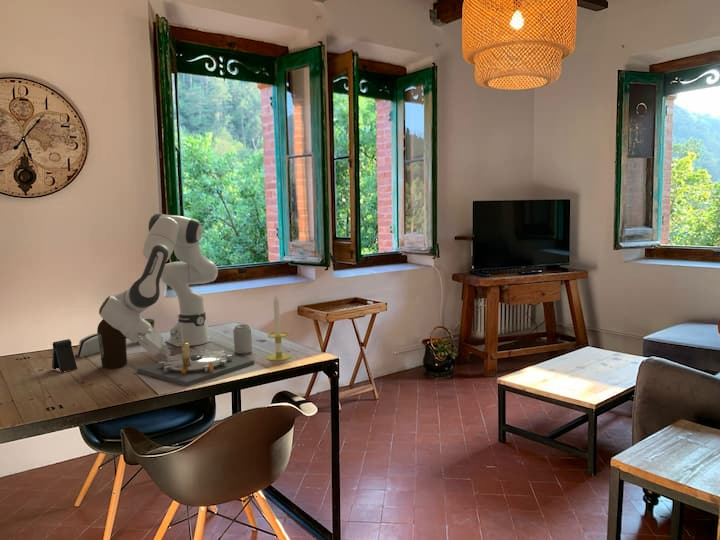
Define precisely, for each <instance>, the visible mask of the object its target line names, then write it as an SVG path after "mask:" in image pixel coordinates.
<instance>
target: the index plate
mask: <svg viewBox="0 0 720 540" xmlns="http://www.w3.org/2000/svg"><path fill="white" fill-rule="evenodd" d="M204 350H205V349H203V350H201V351H204ZM163 361H164V360H162V361H161V362H163ZM252 365H255V360H254V359H250V358H249V359H248V358H245V357H241V356H236V355H232V360H231V361H227V366H225V367H223V366H220V367H217V368H214V369H213V362H209V371H208V372H205V371H200V372H190V373H187V374H182V373H178V372H168V373H165V372H164V368H159V362H155V363H151V364H148V365H144V366H141V367H137V368H136V371H137V373H139V374H142V375H146V376H150V377H154V378H156V379H160V380H164V381H166V382H167V381H169V382H170V383H171V382H172V383H175V384H178V385H181V386H186V387H188V386H191V385H194V384H196V383H200V382H203V381H206V380H209V379H213V378H215V377H216V378H217V377H219V376H221V375H225V374H228V373H231V372H233V371H237V370H239V369H240V370H241V369H243V368H246V367H250V366H252Z"/></svg>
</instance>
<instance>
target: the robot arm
mask: <svg viewBox="0 0 720 540" xmlns="http://www.w3.org/2000/svg"><path fill="white" fill-rule="evenodd" d="M202 236H203V224H202V223H201V222H200V221H199V220H198V219H196V218H195V219H194V218H189V217H186V216H182V215H173V214H164V213H156V214H154V215H153V216H151V217H150V219H149V222H148V234H147V236H146V238H145V240H144V243H143V248H142V255H143V256H144V257H145V259H146V260H147V261H146V264H145V267H144V268H143V272H142V275H141V276H140V277H139V278H138V279H137V280H136V281H135V282H133V284H132V285H131V286H130V287H129V288H128V289H127V290H125V291H123V292H121V293H118V294H113V295H109V296H107V297H106V298H105V300H104V301H103V303H102V304H101V306H100V307H99V310H98V311H99V312H98V314H99V315H100V317H101V318H102V320H103V319H104V320H105V321H106V322H107V323H108V324H110V325H111V326H112V327H113V328H115V329H117V330H119V331H120V332H121V333H122V334H123V335H124V336H125V337H126V339H128V340H129V341H131V342H132V343H133V344H137V343H139V346H141V347H142V348H143V349H144V350H146V351H147V352H148V353H149V354H150V355H153V357H154V356H155V357H156V356H157V355H158V354H159V353H161V354H163V355H164V356H165V357H168V356H171V350H170V349H169V348H168V347H167V346H166V345H165V344H164V343H163V342H165V343H168V344H170V345H173V346H175V347H181V343H184V342H189V347H191V346H200V345H203V344H207V343H209V342H210V341H211V340H212V336H211V335H210V332H209V326H208V322H207V321H206V320H207V313H206V311H205V302H204V301H205V300H204V299H205V298H204V296H203V295H202V294H201V293H200V292H198V291H195V290H192V289H191V288H190V286H189V285H199V284H201V285H202V284H207V283H211V282H214V281H215V280H216V279H217V278H218V274H219V269H218V266H217V264H216V263H215V262H214V261H213V260H210V259H208V258H207V257H205V255H204V254H203V253H202V251H201V248H200V247H201V246H200V240H201V238H202ZM173 252H174V256H175V257H176V258H177V259H178V260H179V261H172V262H168V260H169V259H170V258H171V256H172V255H173ZM167 262H168V263H167ZM160 280H161V281H162V282H163V283H164V284H165V285H167V286H168V287H170V288H171V289H172V290H173V291H174V293H175V294H176V296H177V300H178V305H179V314H177V318H178V319H177V322H176V323H175V325H173V326H172V328H170V331H169V332H170V333H169V334H170V335H169V338H167V339H165V341H164V337H163V336H162V333H160V332H159V331H158V330H156V328H155V327H154V328H153V327H152V326H151V324H150V323H149V322H148V321H146V320H145V319H146V318H143V317H142V316H141V315H140V314H141V313H143V312H144V311H146V310H147V309H148V308H149V307H151V306H153V305H154V304H156V303H157V301H158V300H159V298H160V296H161V295H160V293H161V292H160V291H161V290H160Z"/></svg>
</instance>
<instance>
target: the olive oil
mask: <svg viewBox="0 0 720 540" xmlns="http://www.w3.org/2000/svg"><path fill="white" fill-rule="evenodd" d="M96 329H97V332H96V333H97V334H98V340H99V347H100V352H99V354H100V360H101V361H100V362H101V368H102V369H105V370H106V369H107V370H112V369H113V370H114V369H119V368H122V367H123V368H124V367H125V366H127V365H128V358H127V357H128V356H127V355H128V354H127V337H125V336H124V335H123V334H122V333H121V332H120V331H119V330H117V329H115V328H113V327H112V326H111V325H110V324H108V323H107V322H106V321H105V320H104V319H103V318H102V319H101V321H100V322H98V326H97V328H96Z"/></svg>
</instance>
